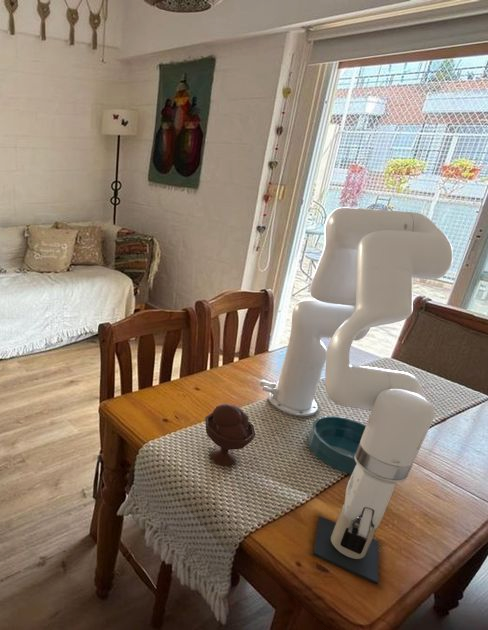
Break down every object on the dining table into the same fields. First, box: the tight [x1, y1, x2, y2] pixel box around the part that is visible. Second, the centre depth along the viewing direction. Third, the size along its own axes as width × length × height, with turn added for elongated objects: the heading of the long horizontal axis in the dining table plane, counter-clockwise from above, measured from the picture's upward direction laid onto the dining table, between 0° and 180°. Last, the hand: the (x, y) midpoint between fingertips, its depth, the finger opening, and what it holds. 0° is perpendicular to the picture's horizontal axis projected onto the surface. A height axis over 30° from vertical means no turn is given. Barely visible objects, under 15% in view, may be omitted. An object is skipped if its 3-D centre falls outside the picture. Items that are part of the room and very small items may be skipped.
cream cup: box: [331, 504, 379, 559], centre depth 80 cm, size 6×6×8 cm
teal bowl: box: [307, 415, 367, 476], centre depth 105 cm, size 16×16×5 cm
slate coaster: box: [312, 515, 380, 585], centre depth 82 cm, size 10×10×1 cm
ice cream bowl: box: [204, 403, 256, 467], centre depth 100 cm, size 11×11×15 cm
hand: (351, 535), depth 80 cm, fingers closed on cream cup, 5 cm apart
